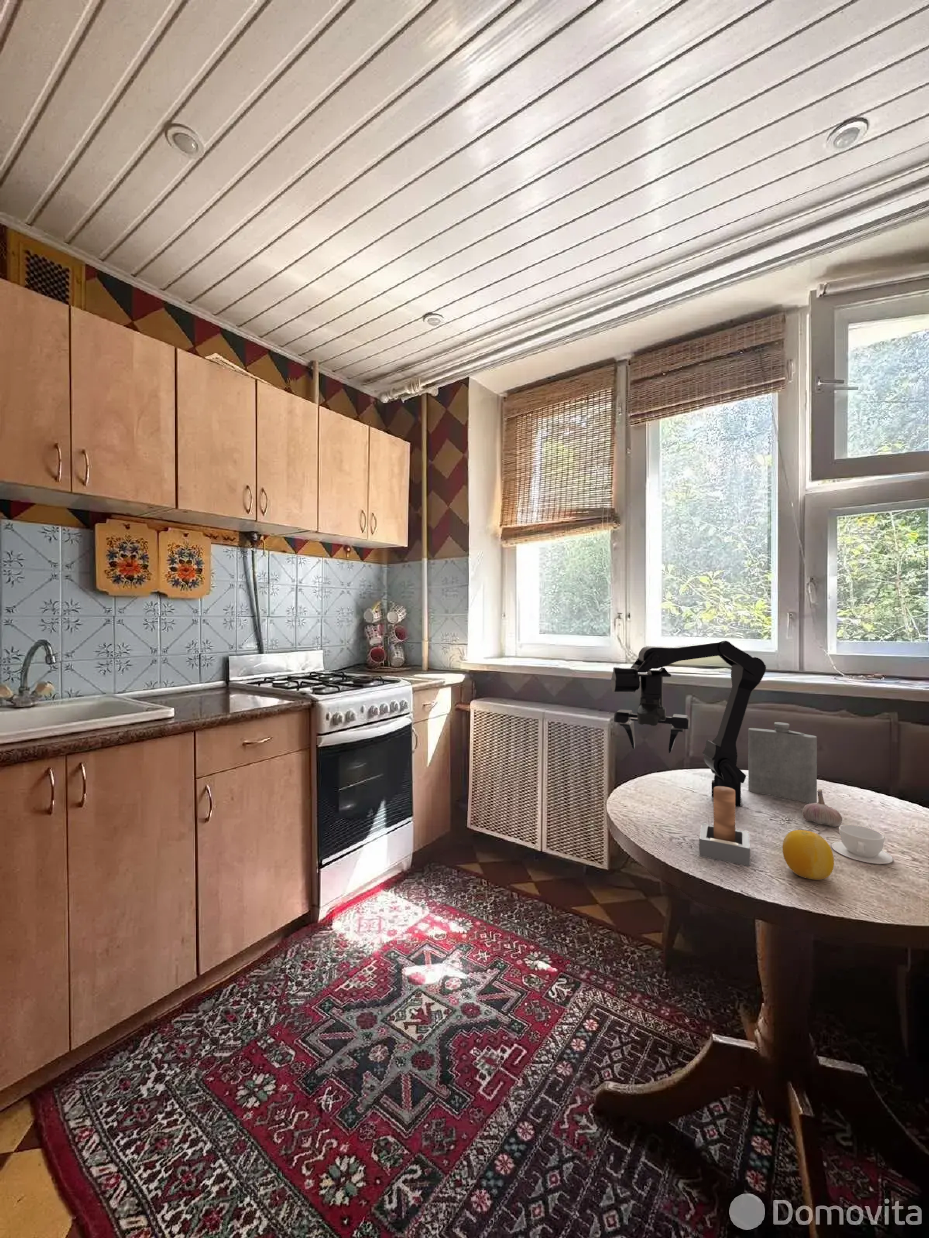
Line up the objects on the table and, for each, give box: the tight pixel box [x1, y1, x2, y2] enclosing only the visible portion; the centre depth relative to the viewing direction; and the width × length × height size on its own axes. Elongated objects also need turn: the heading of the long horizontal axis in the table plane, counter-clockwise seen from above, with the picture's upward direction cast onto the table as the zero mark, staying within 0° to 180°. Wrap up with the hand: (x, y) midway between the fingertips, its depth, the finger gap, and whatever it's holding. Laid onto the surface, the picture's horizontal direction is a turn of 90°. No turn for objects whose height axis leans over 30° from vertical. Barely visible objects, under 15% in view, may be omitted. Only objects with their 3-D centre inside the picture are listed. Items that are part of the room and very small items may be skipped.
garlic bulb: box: [802, 788, 843, 827], centre depth 118 cm, size 8×7×8 cm
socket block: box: [698, 822, 751, 867], centre depth 103 cm, size 9×9×4 cm
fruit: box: [782, 829, 835, 881], centre depth 94 cm, size 9×8×8 cm
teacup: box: [830, 824, 894, 865], centre depth 102 cm, size 10×10×5 cm
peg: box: [713, 786, 736, 842], centre depth 103 cm, size 4×4×13 cm
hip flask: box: [747, 721, 818, 804], centre depth 136 cm, size 16×4×20 cm, turn 50°
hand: (651, 750), depth 134 cm, fingers open, 9 cm apart
